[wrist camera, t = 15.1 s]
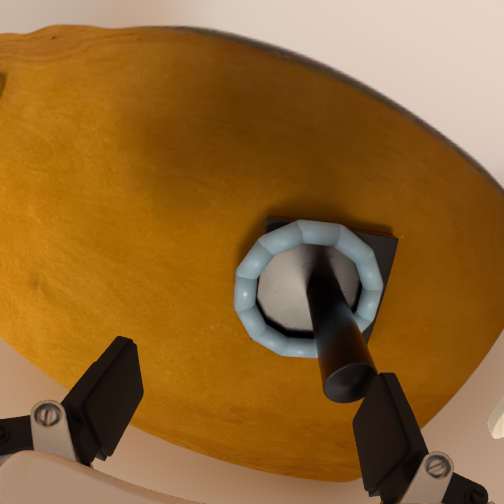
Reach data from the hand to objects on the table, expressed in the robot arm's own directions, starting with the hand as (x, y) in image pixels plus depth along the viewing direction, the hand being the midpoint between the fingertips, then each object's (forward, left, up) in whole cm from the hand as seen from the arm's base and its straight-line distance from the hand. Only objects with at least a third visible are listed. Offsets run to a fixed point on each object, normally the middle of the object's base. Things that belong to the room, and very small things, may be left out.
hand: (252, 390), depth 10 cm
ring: (-3, 0, -9) cm, 9 cm away
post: (-4, 0, -11) cm, 12 cm away
